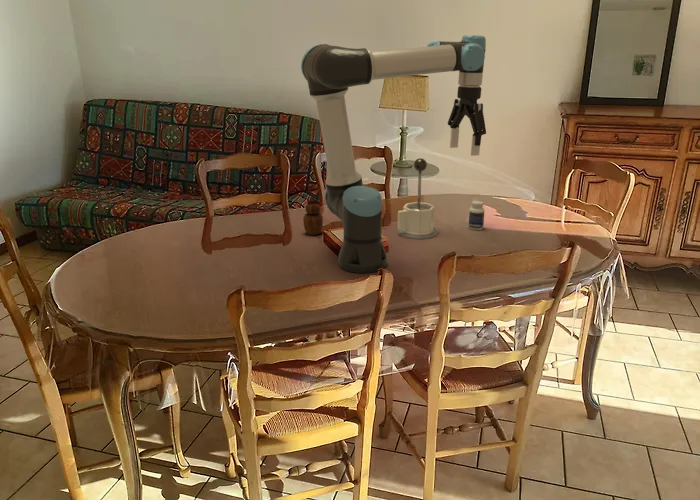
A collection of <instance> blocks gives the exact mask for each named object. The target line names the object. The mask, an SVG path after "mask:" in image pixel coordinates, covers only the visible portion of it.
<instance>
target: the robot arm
mask: <svg viewBox="0 0 700 500" xmlns="http://www.w3.org/2000/svg"><path fill="white" fill-rule="evenodd" d="M486 41H487V39H486V37H485V36H484V35H479V34H478V35H475V34H474V35H473V34H471V35H470V34H468V35H467V34H465V35H463V36H462V37H461V40H460V41H444V40H443V41H441V40H437V41H430V42H428V44H427V45H426V46H421V47H420V46H419V47H408V48H397V49H386V50H374V51H370V50H369V49H368V48H367V47H366V48H365V47H363V48H351V47H350V48H349V47H345V46H344V47H343V46H339V45H331V44H326V43H324V44H323V43H322V44H321V43H320V44H317V45H314V46H312V47H309V49H307V50H306V52H305V53H304V54H303V56H302V59H301V62H300V63H301V66H300V68H301V73H302V75H303V77H304V79H305V80H306V82H307V86H308V87H307V88H308V91H309V96H310V97H311V98H313V99H314V100H315V102H316V109H317V112H318V119H319V126H320V131H321V137H322V141H323V148H324V153H325V154H324V155H325V159H326V164H327V171H328V172H327V173H328V176H327V178H326V179H325V188H326V189H325V192H324V202H325V205H326V207H327V209H328V210H329V211H330V212H331V213H332V215H334V216H336V217H337V218H338V219H339V220H340V221H341V222H343V230H342V231H343V241H342V244H341V247H340V250H339V253H338V258H337V259H338V260H337V262H338V263H337V264H338V266H339V268H341V269H342V270H344V271H347V272H350V273H357V274H358V273H359V274H364V273H365V274H367V273H368V274H369V273H374V272H378V269H379V268H383V269H384V268H385V267H387V264H388V256H387V252H386V251H385V247H384V244H383V241H382V225H383V224H382V221H383V200H382V195H381V193H380V191H378V190H377V189H376V188H374V187H369V186H364V183H363V177H362V175H361V174H360V173H359V172H357V168H356V164H355V158H354V156H355V155H354V151H353V145H352V144H353V143H352V139H351V138H352V137H351V130H350V126H349V125H350V124H349V118H348V113H347V111H348V109H347V105H346V98H345V95H346V94H347V92H348V91H349V88H351V87H356V86H364V85H365V86H366V85H369V84H370V83H371V82H372V81H373V80H382V79H385V80H386V79H393V78H394V79H395V78H402V77H411V76H419V75H430V74H438V73H447V72H448V73H449V72H458V83H457V84H458V85H459V86H458V87H457V94H456V95H457V98H455V99H454V100H453V101H454V102H453V106H452V110H451V112H450V115H449V118H448V121H447V125H448V126H449V127H450V140H449V141H450V142H449V148H451V149H453V148H454V149H455V148H459V137H460V125H461V123H462V121H463V119H464V117H465V116H466V117H467V118H468V119H469V120H470V121H469V122H470V125H471V128H472V131H473V134H472V138H471V147H470V148H471V149H470V156H471V157H472V156H473V157H474V156H475V157H476V156H480V149H481V148H480V147H481V143H482V136H483V135H487V129H486V122H485V117H484V116H485V115H484V104H483V103H478V100H479V99H481V96H482V89H483V88H482V87H481V86H483V85H482V84H483V78H484V77H483V76H484V75H483V73H484V66H485V65H484V64H485V59H486V50H487V49H486V44H487V42H486Z"/></svg>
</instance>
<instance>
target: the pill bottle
mask: <svg viewBox="0 0 700 500" xmlns="http://www.w3.org/2000/svg"><path fill="white" fill-rule="evenodd" d="M484 220H485V208H484V202H483V201H481V200H472V202H471V206H470V207H469V211H468V222H467V223H468V224H467V225H468V226H467V228H468V229H470V230H473V231H481V230H483V229H484Z"/></svg>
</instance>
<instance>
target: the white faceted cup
mask: <svg viewBox="0 0 700 500" xmlns="http://www.w3.org/2000/svg"><path fill="white" fill-rule="evenodd" d="M417 203H418V201H415V202H408V203H405V204H404V206H403V207H402V210H397V231H398V232H397V233H398V234H399V235H400V236H401V237H404V238H406V239H411V240H412V239H414V240H427V239H428V240H429V239H432V238H435V237H436V236H438V232H439V231H438V229H437V228H435V227H434V225H435V224H434V222H435V205H433V204H430V203H429V202H421V201H420V205H422V206H427V207H428V208H429V209H428V210H421V211H419V210H410V209H409V207H410V206H414V205H417Z"/></svg>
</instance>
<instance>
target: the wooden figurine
mask: <svg viewBox="0 0 700 500" xmlns="http://www.w3.org/2000/svg"><path fill="white" fill-rule="evenodd" d="M320 210H321V207H320V204H319V192H317V191H316V195H315V196H314V193H313V194H312V197H310V198H309V199H307V203H306V205H305V212H306V213H305V214H304V215H303V227H304V231H305V232H306V234H307V235H311V236H315V235H319V234H321V232H322V229H323V224H324V221H323V220H324V218H323V215H322V214H321V213H320Z"/></svg>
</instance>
